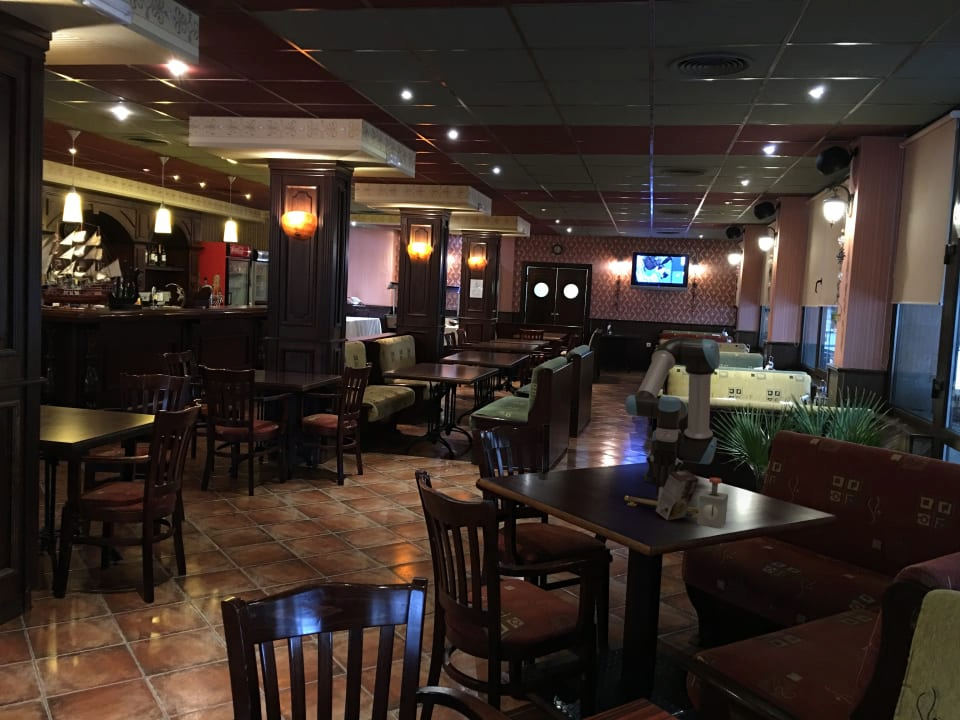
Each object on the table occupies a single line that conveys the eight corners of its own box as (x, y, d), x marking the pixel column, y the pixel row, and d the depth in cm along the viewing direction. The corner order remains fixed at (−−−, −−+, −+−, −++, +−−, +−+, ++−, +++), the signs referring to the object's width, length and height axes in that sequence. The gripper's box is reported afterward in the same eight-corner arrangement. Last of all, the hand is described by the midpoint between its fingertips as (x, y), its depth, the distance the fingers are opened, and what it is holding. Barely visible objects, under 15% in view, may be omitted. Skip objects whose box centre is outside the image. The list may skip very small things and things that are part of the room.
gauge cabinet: (702, 517, 271) (705, 490, 270) (725, 521, 268) (728, 494, 267) (696, 524, 262) (699, 496, 261) (720, 528, 258) (723, 500, 257)
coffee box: (671, 508, 274) (686, 469, 269) (684, 518, 269) (699, 478, 264) (654, 510, 269) (669, 471, 264) (667, 520, 264) (682, 480, 259)
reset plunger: (709, 491, 267) (710, 476, 266) (721, 493, 265) (722, 478, 265) (707, 493, 263) (708, 478, 263) (719, 495, 261) (720, 480, 261)
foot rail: (623, 504, 283) (623, 495, 283) (624, 502, 286) (625, 494, 285) (705, 518, 270) (705, 509, 270) (706, 517, 272) (707, 508, 272)
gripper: (645, 438, 270) (640, 503, 271) (682, 443, 264) (676, 510, 265) (651, 436, 276) (645, 499, 278) (687, 441, 270) (681, 506, 272)
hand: (660, 504), depth 272 cm, fingers closed
